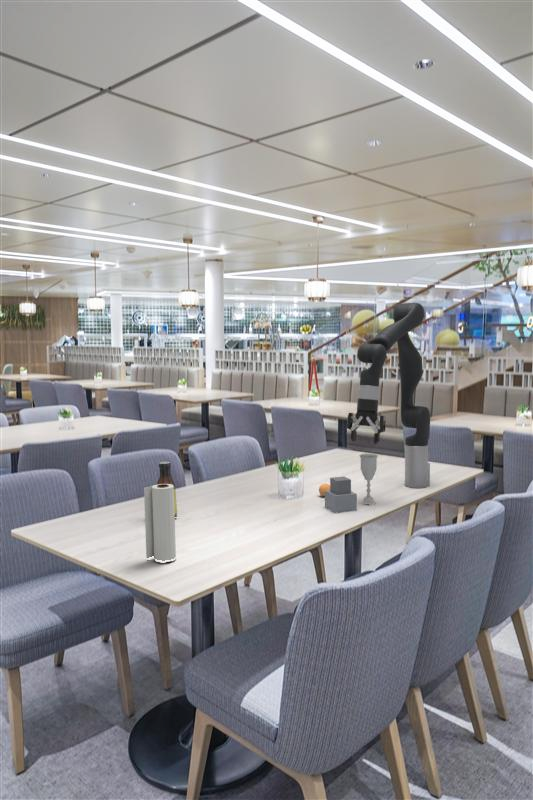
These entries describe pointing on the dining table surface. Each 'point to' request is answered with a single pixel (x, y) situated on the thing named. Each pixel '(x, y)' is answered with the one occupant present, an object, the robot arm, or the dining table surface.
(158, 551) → the paper towel roll
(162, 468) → the sauce bottle
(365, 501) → the chalice
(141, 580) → the dining table surface
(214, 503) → the dining table surface
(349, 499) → the grey stepped block
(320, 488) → the ball
